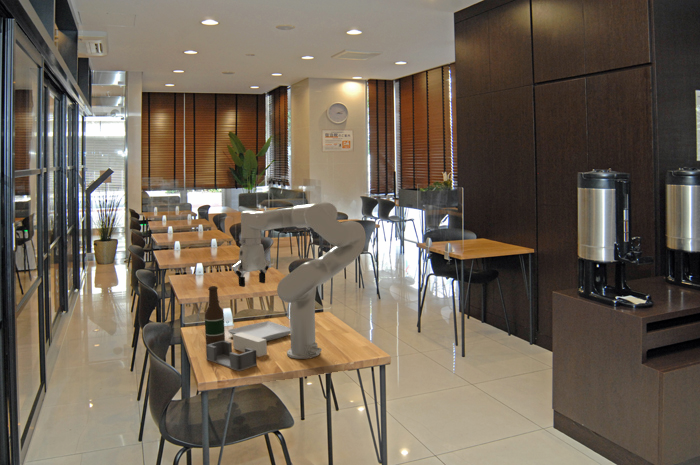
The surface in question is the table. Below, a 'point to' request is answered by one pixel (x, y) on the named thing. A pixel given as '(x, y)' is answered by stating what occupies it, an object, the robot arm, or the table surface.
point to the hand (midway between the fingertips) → (252, 284)
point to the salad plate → (263, 330)
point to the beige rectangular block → (250, 343)
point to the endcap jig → (230, 356)
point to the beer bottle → (214, 319)
